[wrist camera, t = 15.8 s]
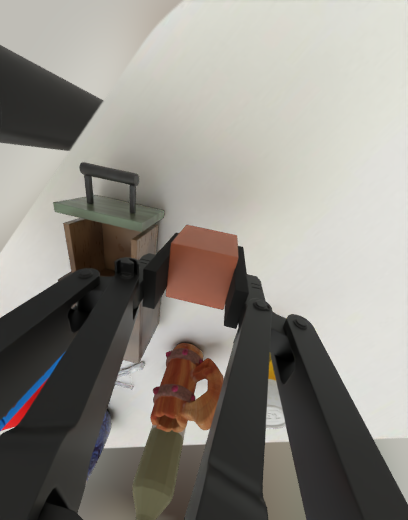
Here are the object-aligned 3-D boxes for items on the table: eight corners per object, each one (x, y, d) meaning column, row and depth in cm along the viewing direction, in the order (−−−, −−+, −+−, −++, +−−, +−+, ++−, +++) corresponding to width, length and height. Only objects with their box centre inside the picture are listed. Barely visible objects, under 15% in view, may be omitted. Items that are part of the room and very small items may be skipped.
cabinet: (100, 253, 35) (57, 279, 27) (164, 268, 34) (140, 300, 26) (105, 310, 42) (72, 345, 33) (158, 323, 41) (138, 364, 33)
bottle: (201, 376, 47) (157, 646, 20) (184, 386, 50) (127, 633, 23) (180, 361, 46) (103, 629, 19) (164, 372, 49) (78, 617, 22)
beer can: (276, 338, 38) (298, 429, 24) (247, 343, 40) (253, 430, 26) (268, 316, 36) (288, 403, 22) (238, 322, 38) (239, 406, 24)
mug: (178, 365, 46) (156, 443, 33) (162, 343, 44) (130, 418, 30) (233, 354, 42) (232, 441, 28) (218, 329, 39) (210, 411, 26)
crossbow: (123, 386, 56) (119, 393, 54) (92, 361, 53) (87, 368, 51) (159, 377, 49) (156, 385, 48) (126, 347, 46) (122, 354, 44)
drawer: (93, 160, 27) (44, 156, 20) (167, 176, 27) (143, 178, 20) (101, 267, 35) (69, 290, 28) (158, 281, 35) (139, 308, 28)
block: (186, 224, 16) (170, 242, 12) (237, 235, 15) (238, 257, 11) (180, 268, 18) (165, 296, 14) (225, 278, 17) (223, 310, 13)
